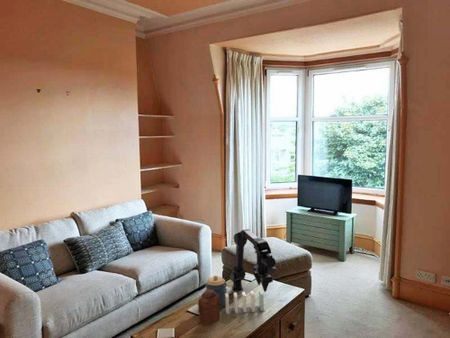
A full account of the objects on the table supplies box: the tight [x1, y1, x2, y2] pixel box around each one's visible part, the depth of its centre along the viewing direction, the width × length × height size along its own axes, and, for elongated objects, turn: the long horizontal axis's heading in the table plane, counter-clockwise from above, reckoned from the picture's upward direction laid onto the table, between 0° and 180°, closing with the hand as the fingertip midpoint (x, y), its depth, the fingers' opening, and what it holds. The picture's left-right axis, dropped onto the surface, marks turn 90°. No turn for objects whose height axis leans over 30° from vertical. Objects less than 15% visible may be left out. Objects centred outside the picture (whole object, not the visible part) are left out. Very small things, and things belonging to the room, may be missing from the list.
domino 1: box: [224, 292, 230, 314], centre depth 199 cm, size 5×2×10 cm, turn 6°
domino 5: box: [258, 290, 265, 311], centre depth 201 cm, size 5×2×10 cm, turn 6°
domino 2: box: [233, 291, 239, 313], centre depth 200 cm, size 5×2×10 cm, turn 6°
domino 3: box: [241, 291, 247, 312], centre depth 200 cm, size 5×2×10 cm, turn 6°
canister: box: [204, 275, 228, 308], centre depth 210 cm, size 13×13×18 cm
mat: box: [221, 305, 266, 316], centre depth 201 cm, size 7×24×1 cm, turn 96°
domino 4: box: [249, 290, 256, 312], centre depth 201 cm, size 5×2×10 cm, turn 6°
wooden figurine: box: [197, 289, 221, 326], centre depth 189 cm, size 12×6×18 cm, turn 125°
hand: (262, 288), depth 200 cm, fingers open, 9 cm apart
